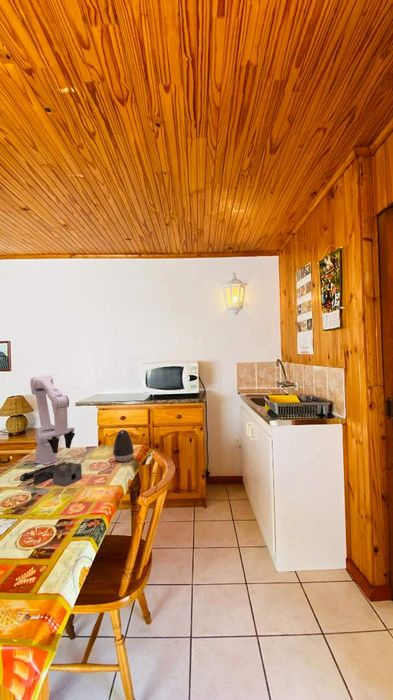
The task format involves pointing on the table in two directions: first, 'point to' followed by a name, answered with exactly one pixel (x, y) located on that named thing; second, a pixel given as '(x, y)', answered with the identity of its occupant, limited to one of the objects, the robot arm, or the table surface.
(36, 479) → the gauge plunger
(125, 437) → the black egg-shaped speaker
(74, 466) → the gauge frame
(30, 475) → the electric trimmer
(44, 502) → the table surface
